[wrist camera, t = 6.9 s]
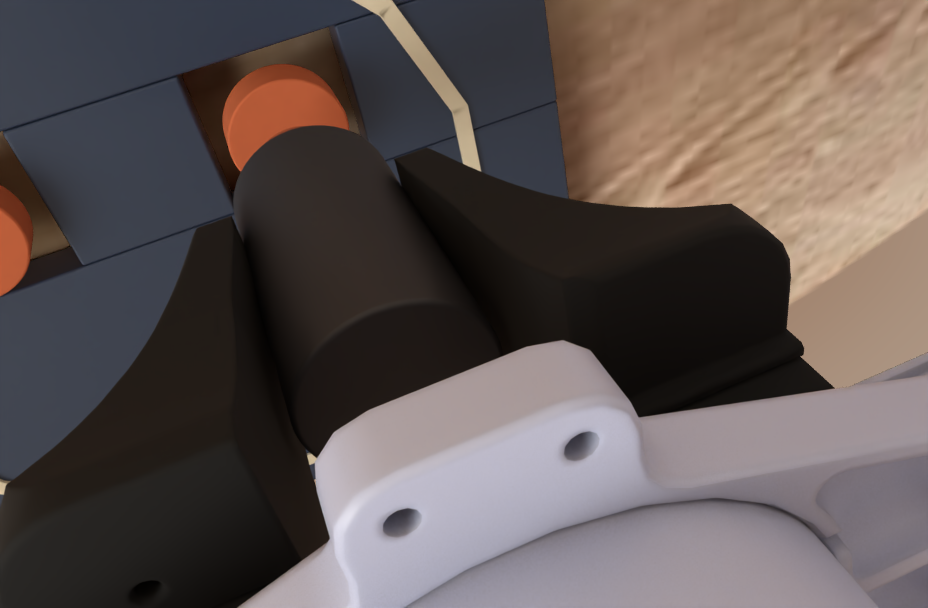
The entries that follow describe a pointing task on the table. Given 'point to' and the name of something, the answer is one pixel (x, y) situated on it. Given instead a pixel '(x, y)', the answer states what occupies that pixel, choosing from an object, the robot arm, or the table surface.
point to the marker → (349, 281)
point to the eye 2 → (276, 107)
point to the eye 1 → (13, 240)
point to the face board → (194, 161)
